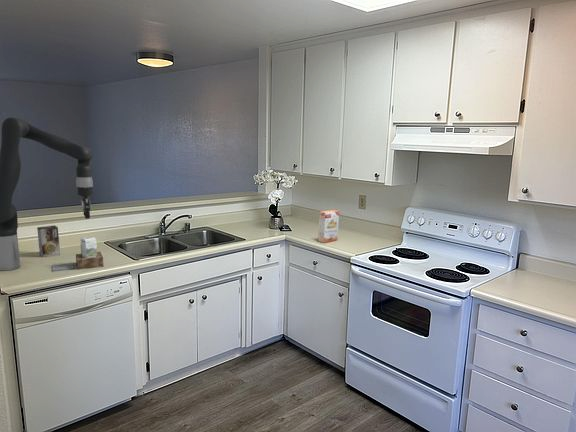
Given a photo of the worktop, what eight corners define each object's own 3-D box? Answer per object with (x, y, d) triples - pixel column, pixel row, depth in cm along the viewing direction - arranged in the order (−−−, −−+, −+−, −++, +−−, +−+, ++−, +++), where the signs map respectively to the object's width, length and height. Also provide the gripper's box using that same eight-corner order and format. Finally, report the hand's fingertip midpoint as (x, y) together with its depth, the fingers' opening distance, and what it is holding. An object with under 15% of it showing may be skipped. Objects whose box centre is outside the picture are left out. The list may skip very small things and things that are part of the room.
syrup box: (92, 262, 223) (90, 236, 220) (97, 264, 219) (96, 238, 216) (81, 264, 218) (79, 238, 216) (86, 267, 215) (85, 240, 212)
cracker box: (324, 243, 278) (325, 212, 275) (317, 241, 283) (319, 211, 279) (338, 240, 287) (339, 210, 284) (331, 238, 292) (333, 209, 288)
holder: (77, 269, 210) (77, 260, 210) (76, 263, 221) (75, 254, 220) (103, 266, 216) (102, 257, 216) (100, 260, 227) (100, 251, 226)
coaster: (52, 271, 206) (52, 270, 206) (52, 266, 214) (52, 265, 214) (73, 269, 211) (73, 268, 211) (72, 264, 218) (72, 263, 218)
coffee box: (56, 252, 241) (54, 225, 238) (60, 254, 236) (58, 226, 233) (39, 254, 234) (36, 227, 231) (42, 257, 230) (40, 228, 227)
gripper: (75, 184, 215) (77, 215, 218) (77, 187, 203) (79, 220, 206) (91, 184, 219) (93, 214, 222) (94, 187, 207) (96, 218, 210)
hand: (86, 217), depth 214 cm, fingers open, 8 cm apart
